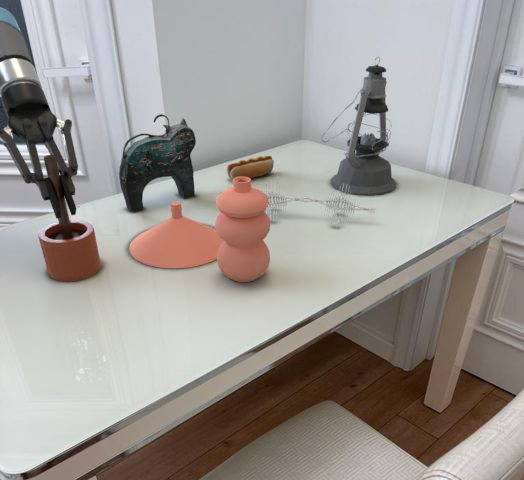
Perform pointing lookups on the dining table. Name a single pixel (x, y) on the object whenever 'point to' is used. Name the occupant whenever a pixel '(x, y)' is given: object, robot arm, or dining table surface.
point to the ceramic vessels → (213, 236)
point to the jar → (70, 252)
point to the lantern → (367, 143)
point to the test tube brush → (315, 201)
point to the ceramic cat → (157, 163)
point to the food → (250, 167)
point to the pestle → (59, 198)
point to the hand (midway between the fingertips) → (66, 213)
